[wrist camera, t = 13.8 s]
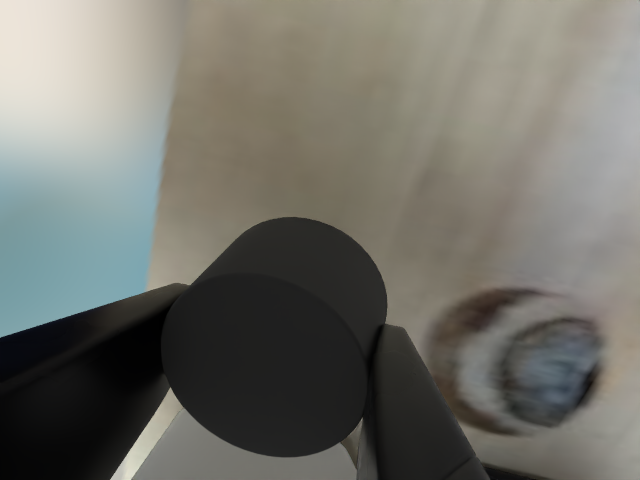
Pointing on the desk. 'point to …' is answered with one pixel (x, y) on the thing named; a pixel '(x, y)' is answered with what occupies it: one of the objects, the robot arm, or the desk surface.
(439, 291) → the desk surface
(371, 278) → the black short cylinder
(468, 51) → the desk surface
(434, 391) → the robot arm
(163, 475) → the can
